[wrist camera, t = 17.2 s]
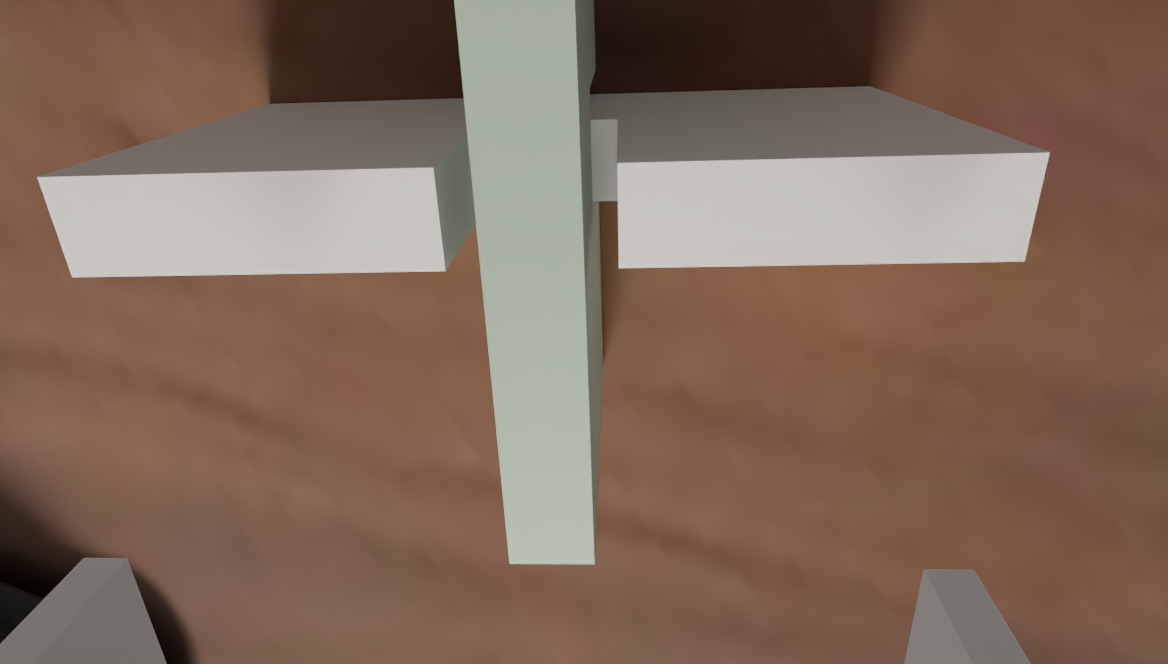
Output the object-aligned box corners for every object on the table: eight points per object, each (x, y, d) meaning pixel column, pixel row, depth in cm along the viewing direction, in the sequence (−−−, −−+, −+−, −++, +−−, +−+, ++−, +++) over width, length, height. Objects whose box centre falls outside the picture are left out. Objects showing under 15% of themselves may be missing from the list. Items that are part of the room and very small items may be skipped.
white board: (870, 86, 26) (1049, 152, 15) (861, 154, 27) (1024, 261, 16) (269, 103, 27) (36, 176, 16) (282, 168, 28) (71, 277, 17)
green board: (603, 365, 31) (594, 564, 20) (547, 366, 31) (509, 563, 21) (588, -201, 23) (562, -377, 12) (512, -197, 23) (418, -368, 12)
